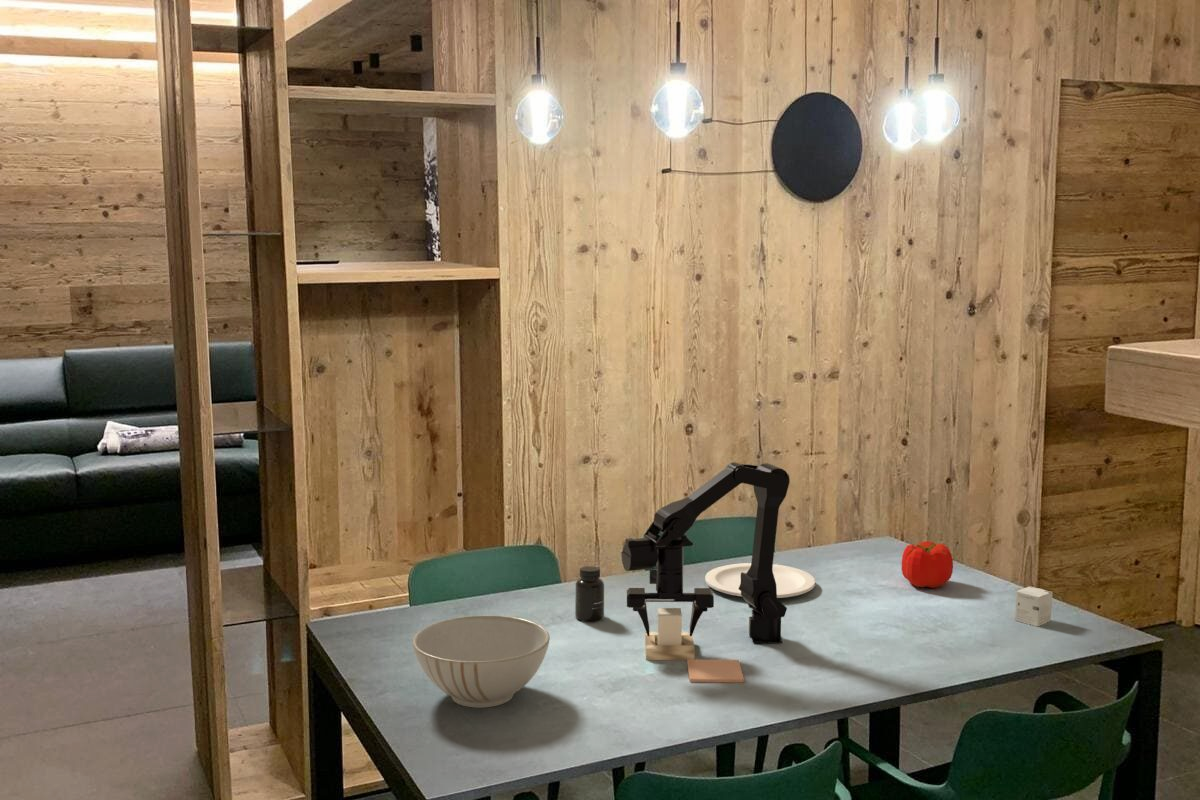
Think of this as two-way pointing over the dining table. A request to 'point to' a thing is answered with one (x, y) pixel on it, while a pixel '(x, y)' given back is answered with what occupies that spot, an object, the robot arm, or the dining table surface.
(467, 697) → the decorative bowl
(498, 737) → the dining table surface
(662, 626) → the cream block
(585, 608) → the supplement bottle
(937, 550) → the tomato
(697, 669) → the terracotta coaster
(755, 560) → the robot arm
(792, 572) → the plate
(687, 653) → the birch pocket holder
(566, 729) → the dining table surface
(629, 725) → the dining table surface
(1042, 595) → the skincare box
